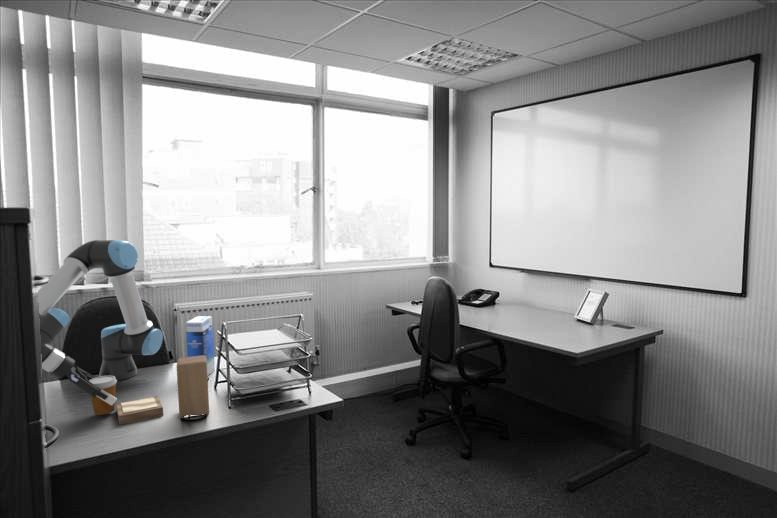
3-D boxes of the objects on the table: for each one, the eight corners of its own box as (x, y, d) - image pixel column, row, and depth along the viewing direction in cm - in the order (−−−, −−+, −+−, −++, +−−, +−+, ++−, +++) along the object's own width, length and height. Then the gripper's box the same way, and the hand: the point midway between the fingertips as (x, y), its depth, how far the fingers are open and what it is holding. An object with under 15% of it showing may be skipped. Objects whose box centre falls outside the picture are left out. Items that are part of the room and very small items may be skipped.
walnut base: (116, 411, 185) (115, 402, 184) (157, 403, 192) (157, 395, 192) (119, 424, 173) (118, 415, 173) (163, 415, 180) (162, 406, 180)
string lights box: (199, 370, 232) (196, 316, 230) (215, 370, 232) (213, 315, 230) (188, 379, 219) (184, 322, 217) (205, 379, 219) (202, 322, 217)
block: (180, 409, 185) (177, 357, 183) (208, 405, 189) (206, 354, 187) (179, 420, 176) (176, 364, 174) (209, 415, 179) (206, 361, 178)
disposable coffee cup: (124, 406, 186) (122, 375, 185) (109, 416, 177) (106, 384, 176) (99, 406, 187) (97, 375, 185) (83, 416, 177) (80, 384, 176)
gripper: (50, 364, 181) (104, 397, 191) (48, 381, 163) (107, 416, 173) (66, 347, 183) (118, 381, 193) (66, 362, 165) (123, 398, 175)
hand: (113, 397), depth 183 cm, fingers closed on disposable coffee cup, 9 cm apart
